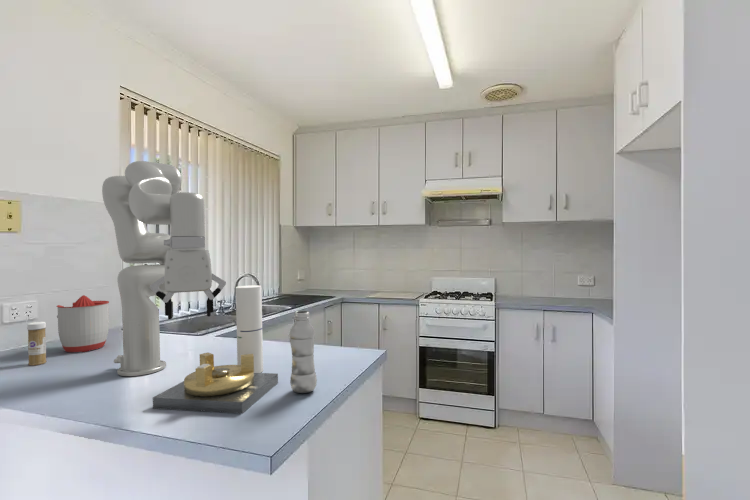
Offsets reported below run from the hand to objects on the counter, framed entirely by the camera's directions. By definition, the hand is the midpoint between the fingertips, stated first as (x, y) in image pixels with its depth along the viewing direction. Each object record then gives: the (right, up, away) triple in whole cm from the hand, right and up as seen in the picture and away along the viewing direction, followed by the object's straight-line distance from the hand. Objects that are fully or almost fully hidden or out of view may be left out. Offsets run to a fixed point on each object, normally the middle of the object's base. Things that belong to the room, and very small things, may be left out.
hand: (190, 316), depth 94 cm
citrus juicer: (-64, -21, +50) cm, 84 cm away
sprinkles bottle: (-65, -21, +32) cm, 75 cm away
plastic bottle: (+27, -20, +4) cm, 33 cm away
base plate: (+6, -20, +2) cm, 21 cm away
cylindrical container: (+8, -20, +20) cm, 29 cm away
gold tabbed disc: (+6, -17, +2) cm, 18 cm away
